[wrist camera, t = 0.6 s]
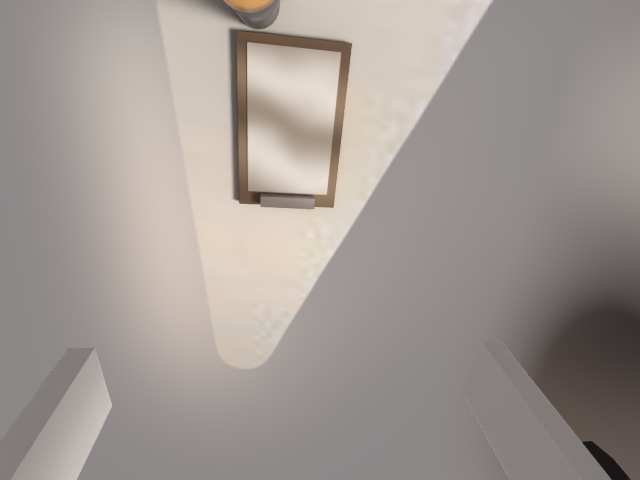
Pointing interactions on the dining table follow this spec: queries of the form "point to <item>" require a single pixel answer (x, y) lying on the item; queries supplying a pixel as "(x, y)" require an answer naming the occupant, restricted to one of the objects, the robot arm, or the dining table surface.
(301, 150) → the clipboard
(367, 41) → the dining table surface
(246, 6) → the marker
